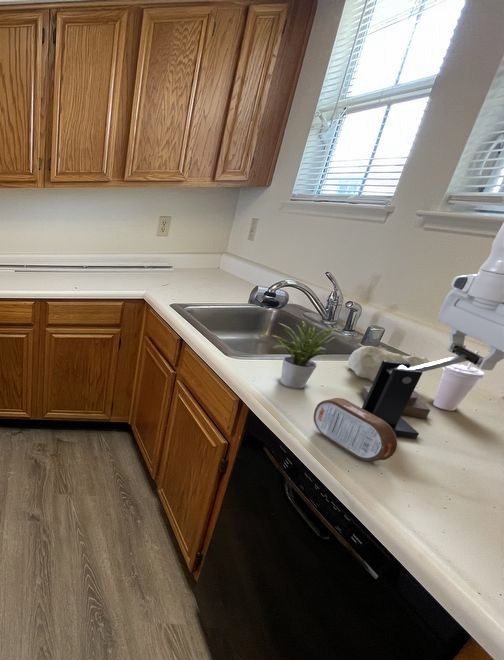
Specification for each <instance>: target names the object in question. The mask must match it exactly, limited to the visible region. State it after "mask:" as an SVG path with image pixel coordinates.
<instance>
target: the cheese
mask: <svg viewBox="0 0 504 660" xmlns="http://www.w3.org/2000/svg"><path fill="white" fill-rule="evenodd" d="M409 355H410V356H409ZM409 355H402V354H400V353H396V352H395V353H394V352H390V351H387V350H385V349H382V348H380V347H377V346H373V345H363V346H361V347H358V348H357V349H355V350H353V352H352V353H351V354H350V356H349V357H348V360H347V366H348V367H349V368H350V369H351V370H352V371H353V372H354V373H355V375H356V376H357V377H360V378H363V379H369V380H370V381H371V382H372V383H373V382H374V379H375V377H376V375H377V373H378V370H379V368H380V366H381V364H382V362H383V360H385V361H395V362H405V363H409V364H411V365H410V367H409V368H411V367H415V366H419V365H423V364H427V363H431V362H435V361H434V360H429V359H428V358H427V357H420V356H417V355H416V354H415V353H413V352H409Z"/></svg>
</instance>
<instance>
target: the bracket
mask: <svg viewBox="0 0 504 660" xmlns="http://www.w3.org/2000/svg"><path fill="white" fill-rule="evenodd" d="M401 365H404V366H405V367H406V368H409V367H410V365H411V364H409V363H405V362H395V361H385V360H383V362H382V364H381V366H380V368H379V370H378V373H377V375H376V377H375V379H374V382H373V381H372V384H371V386H370V387H371V388H370V391H369V393H368V395H367V397H366V400H365V399H364V402H363V404H362V406H361V408H362V409H364V410H366V411H367V412H369V413H371V414H373V415H375V416H377V417H378V418H380V419H382V420H384V421H385V422H386V423H387V424H389V425H390V427H391V428H392V429H393V431H394V433H395V435H396V437H402V438H409V439H418V436H419V435H420V433H419V431H417V430H416V429H415V428H414V427H413V426H411V424H410V423H408V422H407V421H406V420H405V419H404V418H403V417H402V415H403V414H402V413H403V411H404V409H405V407H406V405H407V403H408V401H409V399H410V397H411V395H412V393H413V391H415V389H416V387H417V385H418V383H419V381H420V379H421V377H422V375H423V372H421V371H417V370H408V369H398V368H393V367H397V366H401ZM389 368H393V370H392V372H391V375H390V377H389V379H388V375H387V371H386V369H389Z"/></svg>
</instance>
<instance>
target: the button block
mask: <svg viewBox="0 0 504 660" xmlns="http://www.w3.org/2000/svg"><path fill="white" fill-rule="evenodd" d="M370 388H371V386H367V385H364V386H363V387H362V390H361V391H360V395H361V396H362V398H363V399H364V401H365V400H366V397H367V395H368V393H369V391H370ZM430 412H431V409H430V407H428V406H427V404H426V403H425V402H424V401H423V400H422V399H421V398H420V394H419V393H418V392H417V391H416V390H414V391H413V393H412V395H411V397H410V399H409V401H408V403H407V405H406V407H405V409H404V411H403V413H402V415H405V416H410V417H416V418H420V419H427V417H428V415H429V414H430Z"/></svg>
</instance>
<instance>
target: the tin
mask: <svg viewBox="0 0 504 660" xmlns="http://www.w3.org/2000/svg"><path fill="white" fill-rule="evenodd" d="M313 422H314V425H315V427H316V429H317V430H318V432H319V433H320V434H321V435H322V436H323V437H325V438H326V439H328V440H330V441H331V442H333V444H336V445H337V446H338V447H340V448H341V449H343V450H344V451H346V452H348V453H349V454H351V455H352V456H354V457H355V458H356V459H358V460H361V461H365V462H376V461H386V460H388V459H390V458H391V457H393V456H394V454H395V453H396V452H397V448H398V438H397V436H396V435H395V433H394V431H393V429H392V428H391V427H390V425H389V424H387V423H386V422H385V421H384V420H382V419H380V418H378V417H377V416H375V415H373V414H371V413H369V412H367V411H366V410H364V409H362V407H360V406H358V405H356V404H355V403H353V402H351V401H349V400H347V399H346V398H341V397H334V398H329V399H325V400H322V401H320V402H318V404H317V405H316V406H315V408H314V411H313Z"/></svg>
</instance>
